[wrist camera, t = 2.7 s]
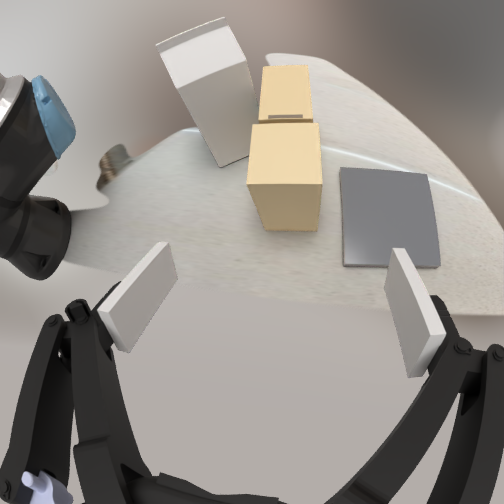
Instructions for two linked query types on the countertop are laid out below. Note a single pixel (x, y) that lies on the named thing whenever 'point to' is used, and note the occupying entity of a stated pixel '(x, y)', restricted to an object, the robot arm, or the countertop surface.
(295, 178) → the tan rectangular block
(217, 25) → the milk carton
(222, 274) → the countertop surface
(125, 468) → the robot arm
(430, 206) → the plate
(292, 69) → the cardboard shipping box
